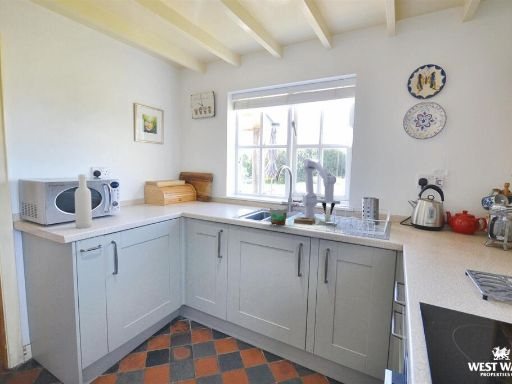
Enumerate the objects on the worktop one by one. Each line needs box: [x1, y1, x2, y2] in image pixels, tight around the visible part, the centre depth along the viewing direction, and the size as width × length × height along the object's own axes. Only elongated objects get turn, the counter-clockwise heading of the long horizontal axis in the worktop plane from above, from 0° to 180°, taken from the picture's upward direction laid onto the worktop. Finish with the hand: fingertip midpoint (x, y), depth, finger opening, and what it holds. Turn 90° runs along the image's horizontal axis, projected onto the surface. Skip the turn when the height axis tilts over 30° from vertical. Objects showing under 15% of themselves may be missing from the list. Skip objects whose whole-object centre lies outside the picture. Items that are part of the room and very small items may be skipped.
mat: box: [316, 220, 338, 227], centre depth 172 cm, size 14×12×1 cm
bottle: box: [74, 174, 93, 229], centre depth 148 cm, size 8×8×30 cm
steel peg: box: [324, 208, 332, 222], centre depth 171 cm, size 3×4×8 cm
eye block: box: [293, 216, 316, 225], centre depth 176 cm, size 12×12×2 cm
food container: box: [269, 207, 289, 226], centre depth 166 cm, size 12×6×10 cm, turn 62°
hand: (328, 214), depth 172 cm, fingers closed on steel peg, 3 cm apart
